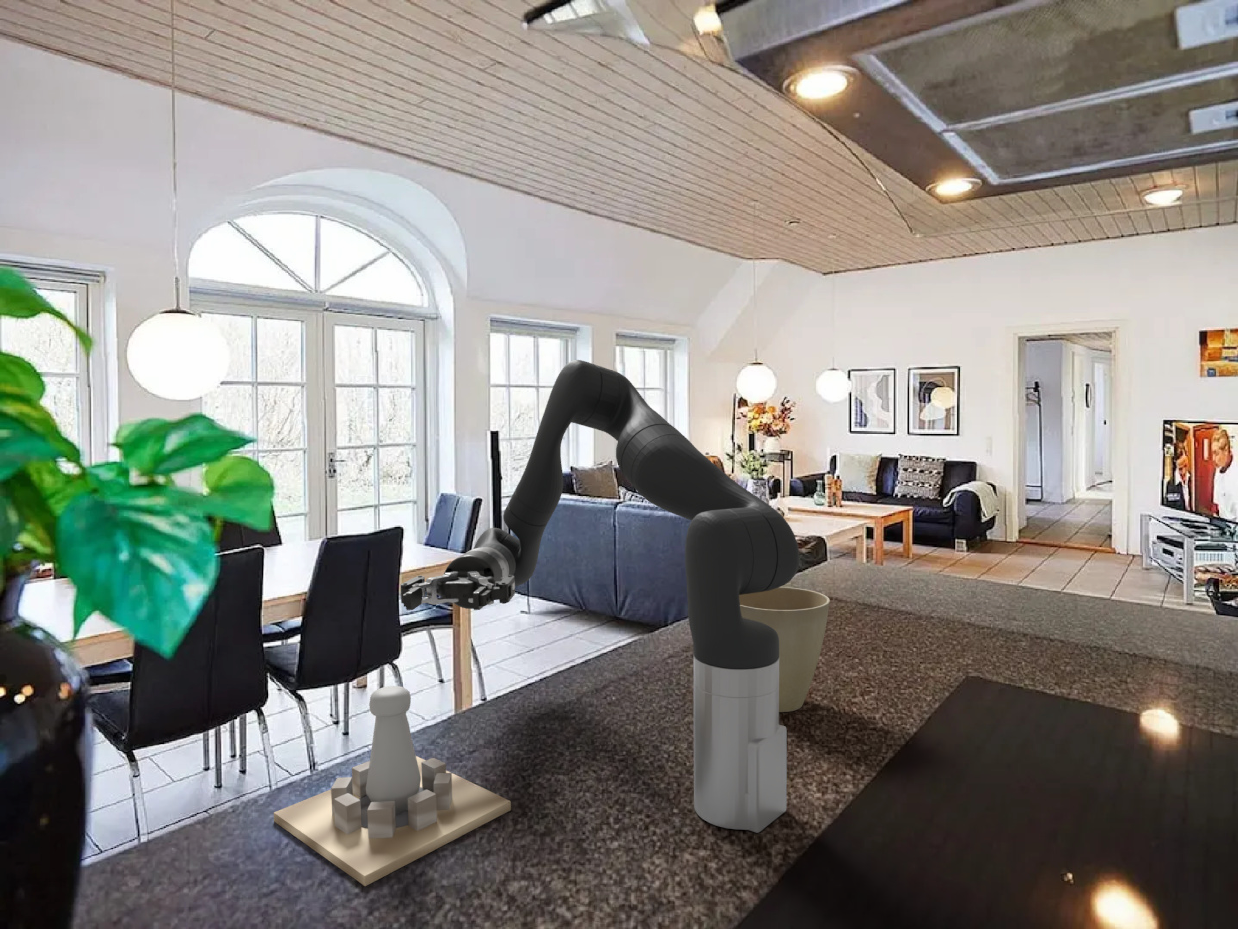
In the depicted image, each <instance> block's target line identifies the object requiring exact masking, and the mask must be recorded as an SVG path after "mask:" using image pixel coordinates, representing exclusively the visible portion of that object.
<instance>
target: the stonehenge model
mask: <svg viewBox="0 0 1238 929" xmlns="http://www.w3.org/2000/svg"><path fill="white" fill-rule="evenodd" d="M416 759H417V763H418V768H419V772H420V776H421V781H420V788H419V791H418V793H417V794H415V795H413V796H411V797H409V798H408V810H407V811H404V812H401V813H398V814H395V801H383V802H371V800H370V799H369V797H368V796H367V794H366V784H367V777H368V771H369V764H370V760H367V761H365V762H362V763H361V764H357V765H355V766H353V767H352V768H351V776H350V777H348V776H345V777H337V778H336V779H335V780H334V783H333V785H331V787H330V788H331V789H329V790H326V791H324V792H321V793H317V794H316V795H314V796H311V797H308V798H306V799H304V800H302V801H299V802H296V803H294V804H291V805H288V806H287V807H284V808H281V809H280V810H276V811H274V812H273V822H274V823H276V824H277V825H278V826H280V827H281V828H283V829H284V830H285V831H287V832H289V834H291V835H293V836H294V837H295V838H297V839H298V840H300V841H301V842H302V843H304V845H306V846H308V847H309V848H311V850H313V851H315V852H316V853H317V854H319V855H321V856H322V857H324V858H325V859H326V860H328V861H329V862H330V863H332V864H333V865H334V866H336V867H337V868H339V869H340V870H342V871H343V872H345V873H346V874H347V875H348V876H350V877H352V878H353V879H354V880H355V881H356V882H358V883H360V884H361V885H362V886H364V887H367V886H369V885H370V884H372V883H375V882H376V881H379V879H382V878H383V877H386V876H387V875H389V874H391V873H393V872H395V871H397V870H399V869H401V868H403V867H404V866H407V865H408V864H410V863H412V862H414V861H416V860H418V859H420V858H422V857H424V856H426V855H428V854H430V853H431V852H434V851H435V850H437V849H439V848H441V847H443V846H444V845H447V844H448V843H450V842H453V841H454V840H456V839H458V838H460V837H462V836H464V835H466V834H468V833H470V832H472V831H474V830H476V829H477V828H479V827H482V826H483V825H485V824H487V823H488V822H491V821H492V820H494V819H496V818H498V817H500V816H503V815H505V814H506V813H508V812H510V811H511V810H512V807H511V806H512V803H511V800H509V799H506V798H505V797H502V796H501V795H499V794H497V793H495V792H492V791H490V790H488V789H486V788H484V787H482V786H480V785H478V784H475V783H474V782H471V781H469V780H467V779H465V778H463V777H461V776H459V775H457V774H455V773H452V772H451V771H448V770H447V763H445V762H443V761H441V760H439V759H437V758H435V757H431V758H429V759H426V760H425V759H424V758H422V757H419V756H417V755H416Z"/></svg>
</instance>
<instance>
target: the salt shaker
mask: <svg viewBox="0 0 1238 929" xmlns="http://www.w3.org/2000/svg"><path fill="white" fill-rule="evenodd" d="M411 698H412V697H411V693H410V690H408V689H406V688H405V687H404V686H399V685H390V686H384V687H381V688H378V689H376V690H374V691H373V692H372V693H371V694H370V696H369V704H368V706H369V711H370V712H369V713H371V714H372V715H373V716H375V720H374V728H373V732H372V733H373V736H372V743H371V750H370V758H369V761H370V764H369V771H368V777H367V784H366V794H367V796H368V797H369V799H370V800H371V802H383V801H395V814H398V813H401V812H404V811H407V810H408V798H409V797H411V796H413V795H415V794H417V793H418V791H419V788H420V781H421V776H420V772H419V768H418V763H417V759H416V756H417V755H416V751H415V747H414V743H413V738H412V734H411V730H410V725H409V720H408V717H407V711H409V710H410V707H411Z"/></svg>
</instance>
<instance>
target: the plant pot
mask: <svg viewBox="0 0 1238 929" xmlns="http://www.w3.org/2000/svg"><path fill="white" fill-rule="evenodd" d="M739 600H740V609H741V615H742V618H746V619H750V620H754V621H758V622H761V623H764V624H766V625H768V626H770V627H772V628H773V629H774V630H775V631H776V632H777V634H778V637H779V713H786V712H794V711H797V710H800V708H802V707H803V705H804V702H805V700H806V698H807V695H808V693H809V690H810V689H811V685H812V681H813V679H814V675H815V673H816V670H817V666H818V663H819V659H820V655H821V651H822V647H823V643H824V637H825V634H826V628H827V621H828V617H829V616H828V615H829V608H830V604H831V603H830V602H831V600H830V598H829V597H828V596H827V595H825V594H823V593H821V592H818V591H815V590H811V589H805V588H796V587H789V586H787V587H786V586H781V587H779V588H775V589H773V590H769V591H763V592H757V593H750V594H743V595H739Z"/></svg>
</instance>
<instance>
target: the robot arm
mask: <svg viewBox="0 0 1238 929" xmlns="http://www.w3.org/2000/svg"><path fill="white" fill-rule="evenodd" d="M571 424H577V425H580V426H583V427H587V428H590V429H595V430H598V431H601V432H602V433H603V432H604V433H606V434H607V435H610V437H613V439H615V441H617V443H616V448H615V458H616V464H617V466H618V468H619V470H620V472H621V473H622V475H623V476H624V478H625V479H626V480H627V482H629V484H630V485H631V487H633V488H634V489H635V490H636V491H637V493H638V494H639V495H640V496H641V497H643V499H645V500H646V501H647V502H649V503H651V504H652V505H653V506H656V507H657V508H660V509H663V510H664V511H666V512H669V513H672V514H674V515H676V516H678V517H680V518H683V519H686V520H689V521H690V524H689V525H688V528H687V532H686V537H685V542H684V543H685V544H684V546H685V548H684V561H685V563H684V564H685V578H686V592H687V594H686V595H687V613H688V614H687V615H688V616H687V617H688V625H689V630H690V633H691V638H692V643H693V644H692V646H693V647H692V648H693V652H692V653H693V654H692V655H693V807H694V811H695V812H696V814H697V816H699V817H700V818H701V819H702V820H704V821H706V822H707V823H708V824H711V825H714V826H717V827H720V828H724V829H728V830H729V829H732V830H745V831H751V832H753V833H756V834H758V833H760V832H762V831H764V829H766V827H767V826H769V825H770V824H771V823H773V822H774V821H775V820H776V819H778V818H779V817H780V816H781V815H783V814H784V813H786V812H787V785H788V784H787V775H788V774H787V768H788V767H787V766H788V765H787V762H788V761H787V759H788V758H787V757H788V756H787V755H788V754H787V753H788V752H787V749H788V748H787V747H788V746H787V742H788V739H787V738H788V734H787V733H788V732H787V727H786V726H784V725H782V724H780V712H779V637H778V634H777V632H776V631H775V630H774V629H773V628H772V627H770V626H768V625H766V624H764V623H761V622H758V621H754V620H750V619H746V618H742V615H741V609H740V600H739V595H743V594H750V593H757V592H763V591H769V590H773V589H775V588H779V587H784V586H786V584H788V583H789V582H791V580H793V578H794V577H795V576H796V574H797V572H798V570H799V565H800V549H799V544H798V541H797V538H796V535H795V533H794V531H793V530H792V528H791V527H792V526H790V524H789V522H788V521H787V520H786V519H785V518H784V517H783V515H782V514H780V512H778V511H777V510H776V509H775V508H774V507H772V506H771V505H769V504H768V503H767V502H765V501H764V500H762V499H761V498H759V497H758V496H757V495H755V494H753V493H752V492H750V491H749V490H747V489H746V488H745V487H743V486H742V485H740V484H738V483H737V482H736V481H735V480H733V479H732V477H730V476H729V475H727V474H726V473H725V472H723V470H722V469H721V468H719V467H718V465H716V464H715V463H713V461H711V460H710V459H709V458H708V457H706V456H705V455H704V454H703V453H702V452H701V451H700V450H699V449H698V448H696V447H695V445H694V444H693V443H692V442H691V441H690V440H689V439H688V438H687V437H686V436H685V435H683V434H682V432H680V431H679V430H678V429H677V428H676V427H675V426H673V425H672V424H671V423H669V421H668V420H666V419H665V418H664V417H663V416H662V415H661V414H660V413H658V412H657V411H655V410H654V409H653V408H652V407H651V406H650V405H649V404H648V403H647V401H646V400H645V399H644V398H643V396H642V395H641V394H640V393H639V391H638V390H637V388H636V387H635V385H633V383H632V382H631V381H630V380H629V379H628V378H627V377H626V376H624V375H623V374H622V373H620V372H618V371H617V370H616V371H615V370H613V369H609V368H606V367H604V366H601V365H597V364H594V363H593V362H590V361H589V362H588V361H585V360H581V359H575V360H571V361H569V362H567V363H566V364H565V365H564V366H563V368H562V369H561V371H560V372H559V374H558V375H557V377H556V379H555V381H554V384H553V386H552V389H551V391H550V395H549V397H548V400H547V403H546V406H545V409H544V412H543V414H542V418H541V420H540V423H539V427H538V429H537V433H536V436H535V439H534V441H533V442H534V443H533V445H532V448H531V452H530V455H529V459H528V461H527V464H526V466H525V469H524V471H523V474H522V475H521V478H520V480H519V482H518V484H517V485H516V487H515V489H514V491H513V493H512V496H511V497H510V499H509V501H508V503H507V505H506V506H505V507H506V508H505V510H504V512H503V516H502V517H503V521H504V524H505V525H506V526H507V527H508V529H509V530H510V531H511V532H512V533H513V534H514V535H515V536H516V537H515V536H513V535H512V534H510V533H509V532H507V531H505V530H503V529H501V528H499V527H498V528H497V527H490V528H487V529H486V530H484V531H483V532H482V534H480V535H479V537H478V539H477V540H476V542H475V545H474V548H472V549H470V550H469V551H467V552H465V553H463V554H462V555H459V556H458V557H455V559H453V560H452V561H451V562H450V563H449V564H448V565H447V566H446V569H444V570H445V571H443V575H437V576H432V577H427V579H426V578H425V576H424V575H418V576H415V577H413V578H410V579H408V580H407V581H405V582H403V583H401V584H400V599H401V600H400V602H401V604H403V607H405V610H406V611H414V610H415V609H416V608H418V607H420V606H421V605H422V604H423V605H424V604H430V605H434V606H435V605H440V604H445V603H452V604H454V605H455V606H458V607H460V608H462V609H467V610H474V611H480V610H481V609H483V608H484V607H486V606H490V605H493V604H495V601H499V604H503V605H504V604H505V605H506V604H507V603H510V601H511V599H512V598H513V597H514V596H515V594H516V587H519V586H521V585H523V584H526V583H527V582H528V581H529V580H530V579H531V578H532V576H533V575H534V573H535V570H536V567H537V563H538V558H539V553H540V546H541V541H542V538H543V535H544V532H545V530H546V527H547V525H548V524H549V522H550V521H551V517H552V516H553V514H554V512H555V509H556V508H557V507H558V504H559V502H560V499H561V496H562V494H563V489H564V476H563V475H564V474H563V466H562V455H561V453H562V450H561V449H562V442H563V440H564V439H563V438H564V437H565V436H564V435H565V433H566V431H567V430H568V429H569V426H570V425H571ZM425 579H426V580H425ZM437 596H439V597H437Z"/></svg>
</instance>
